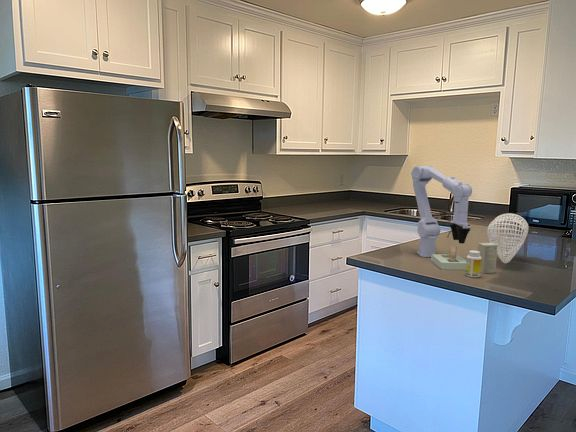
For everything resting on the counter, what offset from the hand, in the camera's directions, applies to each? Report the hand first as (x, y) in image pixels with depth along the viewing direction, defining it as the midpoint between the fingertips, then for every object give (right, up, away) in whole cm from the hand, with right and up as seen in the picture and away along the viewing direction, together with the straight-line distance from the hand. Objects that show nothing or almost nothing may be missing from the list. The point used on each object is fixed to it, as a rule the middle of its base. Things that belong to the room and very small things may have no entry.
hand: (458, 241), depth 192 cm
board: (-4, -11, 0) cm, 11 cm away
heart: (+23, -10, +4) cm, 26 cm away
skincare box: (+7, -12, -11) cm, 18 cm away
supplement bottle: (-1, -13, -17) cm, 22 cm away
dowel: (-5, -11, -4) cm, 13 cm away
